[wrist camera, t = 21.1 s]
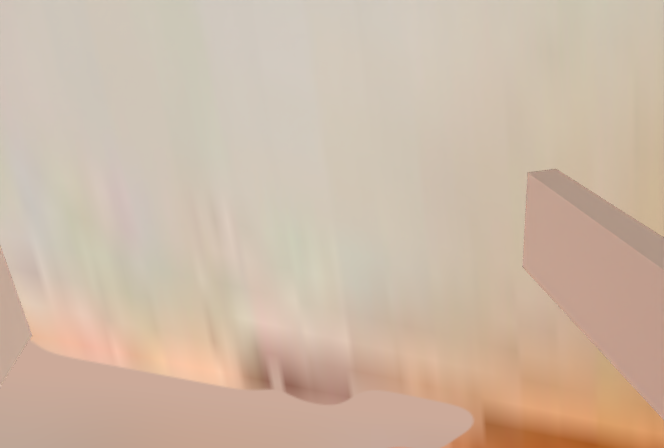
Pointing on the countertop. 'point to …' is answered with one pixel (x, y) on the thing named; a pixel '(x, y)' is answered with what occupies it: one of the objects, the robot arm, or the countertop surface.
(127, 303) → the countertop surface
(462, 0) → the countertop surface
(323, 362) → the countertop surface
